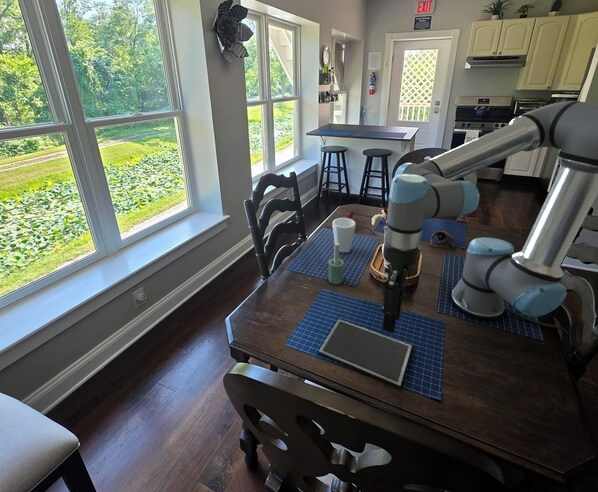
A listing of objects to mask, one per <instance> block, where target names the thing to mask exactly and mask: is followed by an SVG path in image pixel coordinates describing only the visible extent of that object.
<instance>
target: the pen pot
mask: <svg viewBox="0 0 598 492" xmlns="http://www.w3.org/2000/svg"><path fill="white" fill-rule="evenodd" d="M344 270H345V261H344V260H343V259H342V258H339V265H334V257H332V258H330V259H329V260H328V273H327V279H328V282H329V283H331V284H333V285H340V284H342V283H343V282H344V274H345V271H344Z"/></svg>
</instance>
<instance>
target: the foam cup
mask: <svg viewBox="0 0 598 492" xmlns="http://www.w3.org/2000/svg"><path fill="white" fill-rule="evenodd" d="M331 226H332V231H333V240H334V241H333V242H334V244H335V243H339V244H340V245H339V253H344V254H345V253H350V252H351V248H352V244H353V238H354V233H355V230H356V221H355V220H353V218H352V219H350V218H349V217H348V218H346V217H337V218H335V219H333V220H332V225H331Z"/></svg>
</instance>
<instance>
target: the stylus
mask: <svg viewBox="0 0 598 492" xmlns="http://www.w3.org/2000/svg"><path fill="white" fill-rule="evenodd" d="M339 245H340V244H339V243H335V242H334V243H333V258H334V265H339V259H340V252H339Z"/></svg>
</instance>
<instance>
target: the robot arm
mask: <svg viewBox="0 0 598 492" xmlns="http://www.w3.org/2000/svg"><path fill="white" fill-rule="evenodd" d="M540 148H553V149H557V150H559V152H558V154H557V157H556V158H557V160H558V162H559V163H560V168H559V170H558V172H557V174H556V176H555V178H554V180H553V183H552V185H551V187H550V189H549V191H548V193H547V196H546V198H545V200H544V202H543V204H542V206H541V208H540V211H539V212H538V215H537V217H536V219H535V221H534V223H533V225H532V227H531V229H530V232H529V234H528V236H527V239H526V240H525V243H524V245H523V247H522V249H521V250H520V251H517V252H515V247H514V245H513V244H512V243H510V242H508V241H506V240H503V239H500V238H495V237H477V238H474V239H472V240H470V242H469V245H468V248H467V250H466V254H465V259H464V265H463V270H462V275H461V278H460V280H459V281H458V282H457V284H455V286H454V288H453V289H452V292H451V297H450V298H451V301H452V303H453V305H454V306H455V307H456V308H457V309H458V310H459V311H461V312H462V313H464V314H466V315H468V316H469V317H472V318H476V319H480V320H487V321H488V320H496V319H499V318H501V317H502V316H503V314H504V312H505V311H506V312H508V313H510V314H511V315H514V316H516V317H518V318H521V319H523V320H525V321H528V322H529V323H532V324H534V325H539V326H542V327H546V328H552V329H556V330H559V331H562V332H563V333H564V334H565V335H567V336H568V335H569V336H570V333H569V332H568V331H567V329H565V328H564V327H562V326H559V325H554V324H548V323H544V322H541V321H537V320H534V319H531V318H538V317H542V316H545V315H548V314H549V313H551V312H553V311H554V310H556V309H557V308H558V307H560V305H561V304H562V303H563V302H564V301H565V299H566V297H567V294H568V293H567V288H566V287H565V286H564V284H562V283H561V281H562V279H563V277H564V271H563V269H562V267H561V264H562V262H563V261H564V258H565V257H566V255H567V253H568V252H569V249H570V247H571V245H572V244H573V242H574V240H575V238H576V236H577V234H578V232H579V230H580V228H581V226H582V224H583V222H584V220H586V219H585V218H586V217H587V215H588V214H589V211H590V209H591V207H592V206H593V203H594V202H595V199H596V198H597V196H598V102H589V101H588V102H587V101H580V100H567V101H560V102H555V103H551V104H547V105H544V106H541V107H538V108H535V109H533V110H530V111H527V112H525V113H523V114H521V115H518V116H515V117H513V119H511V121H510V122H509V123H508V125H505V126H503V127H501V128H498V129H496V130H494V131H492V132H489V133H487V134H484V135H483V136H480V137H478V138H476V139H473V140H472V141H469V142H467V143H464V144H462V145H459V146H458V147H456V148H453V149H451V150H448V151H447V152H444V153H442V154H439V155H438V156H435V157H433V158H430V159H428V160H426V161H423V162H422V163H419V164H417V163H414V162H405V163H403V164H401V165H400V166H399V167H398V168H397V169H396V171H395V173H394V177H393V178H392V180H391V184H390V189H389V194H388V206H387V217H386V225H385V226H383V231H385V236H384V243H383V251H382V255H383V258H384V260H385V261H386V262H387V263H389V264H390V265H388V268H387V278H386V280H385V281H384V283H385V290H384V298H383V299H384V300H383V306H382V307H381V311H382V314H383V322H382V331H384V332H387V333H390V334H392V335H394V334H395V330H396V322H397V321H399V320H400V316H401V310H402V303H403V298H406V296H407V293H406V292H404V291H405V290H406V280H407V275H408V271H409V267H410V266H413V265H415V264H416V263H417V261H418V257H419V251H420V245H421V240H422V234H423V226H424V221H425V220H428V219H430V220H431V219H437V218H448V217H460V216H462V215H463V216H464V215H468V214H469V215H470V214H471V213H473V212H474V211H475V210H476V209H477V208H478V206H479V201H480V193H479V189H478V188H477V186H476V185H475V184H474V183H473V182H471V181H469V180H460V179H462V178H464V177H466V176H468V175H470V174H473V173H475V172H477V171H480V170H481V169H484V168H486V167H489V166H490V165H493V164H495V163H497V162H500V161H502V160H504V159H507V158H509V157H511V156H513V155H516V154H518V153H520V152H532V151H534V150H536V149H540ZM505 301H506V302H507V303H508V304H510V306H512V308H514V309H515V310H518V311H519V312H520V313H521V314H520V313H518V312H516V311H514V310H511V309H510V308H507V307H506V306H505ZM522 314H523V315H522ZM526 316H527V317H526ZM528 317H530V318H528Z"/></svg>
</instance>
